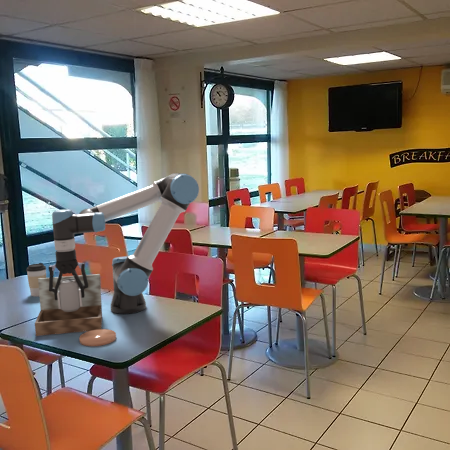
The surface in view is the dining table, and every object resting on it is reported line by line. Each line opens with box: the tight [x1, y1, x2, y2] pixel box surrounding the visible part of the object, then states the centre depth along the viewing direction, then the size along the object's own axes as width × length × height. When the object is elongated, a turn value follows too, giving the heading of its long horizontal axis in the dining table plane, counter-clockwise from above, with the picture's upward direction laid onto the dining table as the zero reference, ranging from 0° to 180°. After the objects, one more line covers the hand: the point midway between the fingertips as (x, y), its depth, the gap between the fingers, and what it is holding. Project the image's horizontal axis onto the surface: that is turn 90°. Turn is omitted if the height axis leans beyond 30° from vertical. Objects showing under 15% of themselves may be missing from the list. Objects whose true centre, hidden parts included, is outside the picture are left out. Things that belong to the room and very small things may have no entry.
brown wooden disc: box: [78, 328, 117, 347], centre depth 184 cm, size 13×13×2 cm
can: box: [59, 278, 80, 312], centre depth 197 cm, size 8×8×12 cm
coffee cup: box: [25, 262, 47, 297], centre depth 243 cm, size 9×9×15 cm
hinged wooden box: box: [34, 273, 103, 337], centre depth 198 cm, size 24×17×18 cm
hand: (70, 306), depth 198 cm, fingers closed on can, 7 cm apart
